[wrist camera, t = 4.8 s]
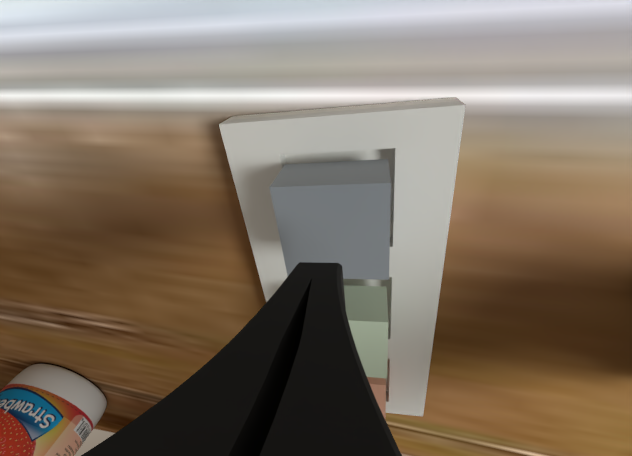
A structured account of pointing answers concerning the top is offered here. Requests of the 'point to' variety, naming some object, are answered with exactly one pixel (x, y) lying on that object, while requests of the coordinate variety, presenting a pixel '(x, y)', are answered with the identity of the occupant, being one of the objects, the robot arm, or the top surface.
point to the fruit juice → (48, 412)
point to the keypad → (405, 208)
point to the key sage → (369, 326)
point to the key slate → (335, 215)
